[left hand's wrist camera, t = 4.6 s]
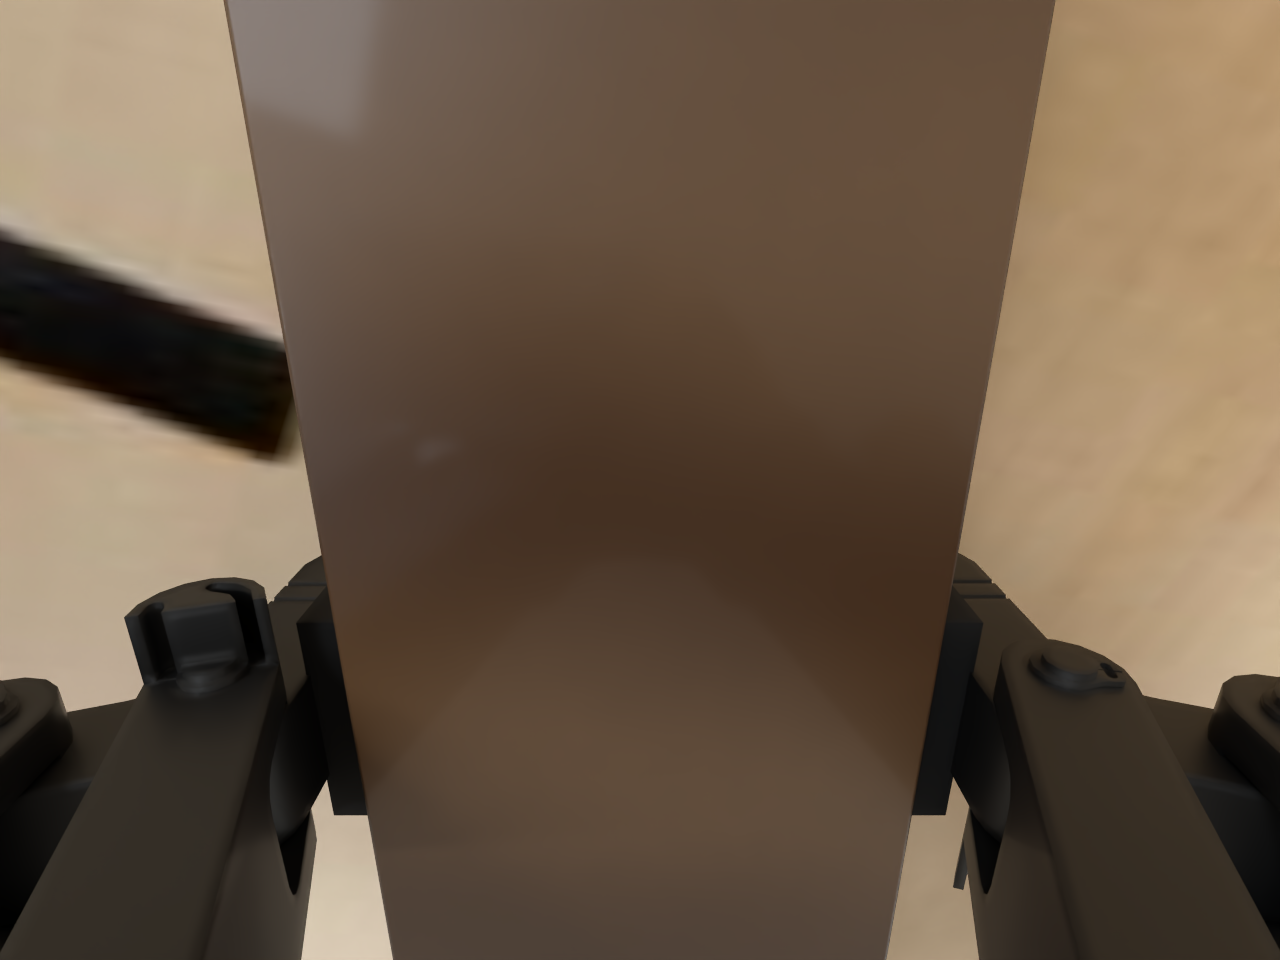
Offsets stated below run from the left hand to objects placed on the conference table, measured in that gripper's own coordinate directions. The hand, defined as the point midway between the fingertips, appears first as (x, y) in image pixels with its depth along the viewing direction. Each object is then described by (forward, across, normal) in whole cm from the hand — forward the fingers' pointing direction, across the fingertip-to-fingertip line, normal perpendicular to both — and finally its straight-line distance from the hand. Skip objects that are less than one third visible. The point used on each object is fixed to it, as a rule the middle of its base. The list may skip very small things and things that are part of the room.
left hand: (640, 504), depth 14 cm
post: (0, 0, -21) cm, 21 cm away
